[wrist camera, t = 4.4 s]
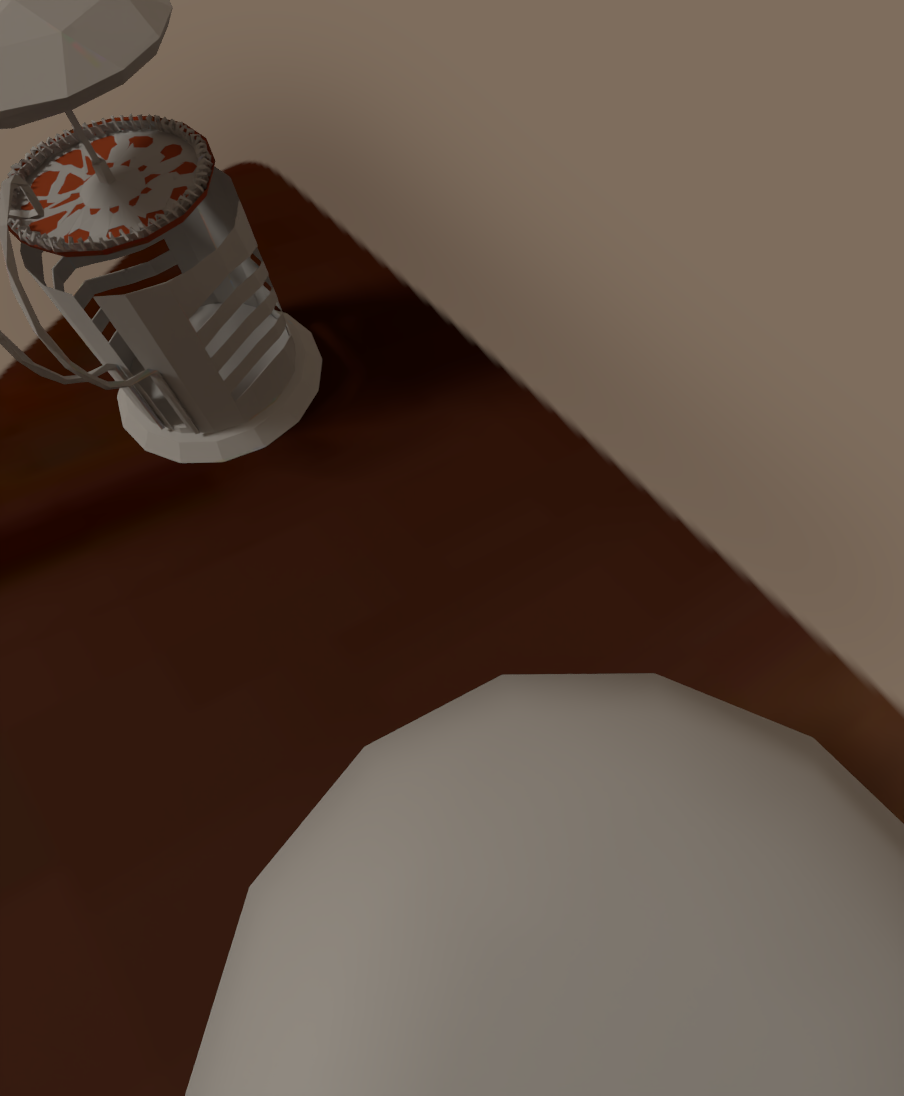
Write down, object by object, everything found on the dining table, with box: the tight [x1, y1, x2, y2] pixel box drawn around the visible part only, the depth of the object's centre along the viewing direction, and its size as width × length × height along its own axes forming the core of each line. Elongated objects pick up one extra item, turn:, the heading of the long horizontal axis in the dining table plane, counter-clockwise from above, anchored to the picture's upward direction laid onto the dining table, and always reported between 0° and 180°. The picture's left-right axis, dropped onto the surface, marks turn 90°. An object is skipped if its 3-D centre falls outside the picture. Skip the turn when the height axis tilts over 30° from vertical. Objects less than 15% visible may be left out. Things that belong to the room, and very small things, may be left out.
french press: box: [0, 0, 322, 463], centre depth 17 cm, size 10×12×25 cm
